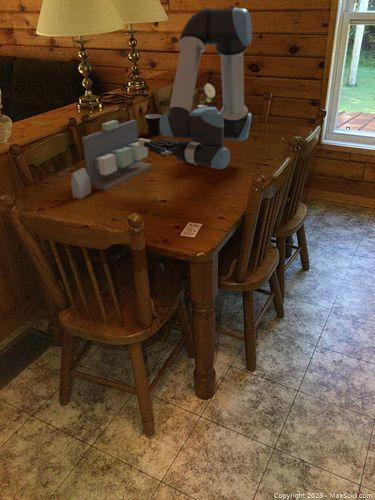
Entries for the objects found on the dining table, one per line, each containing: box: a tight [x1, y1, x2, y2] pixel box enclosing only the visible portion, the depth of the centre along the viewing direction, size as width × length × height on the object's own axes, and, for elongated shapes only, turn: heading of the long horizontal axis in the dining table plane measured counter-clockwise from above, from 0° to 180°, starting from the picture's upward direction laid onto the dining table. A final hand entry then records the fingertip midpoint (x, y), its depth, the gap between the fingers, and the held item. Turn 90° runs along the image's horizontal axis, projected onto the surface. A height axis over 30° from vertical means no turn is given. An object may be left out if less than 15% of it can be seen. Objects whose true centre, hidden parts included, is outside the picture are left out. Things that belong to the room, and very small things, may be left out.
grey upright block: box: [70, 167, 92, 200], centre depth 166 cm, size 4×7×10 cm, turn 153°
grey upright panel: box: [81, 119, 153, 191], centre depth 180 cm, size 16×30×22 cm, turn 145°
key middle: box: [111, 147, 133, 168], centre depth 180 cm, size 8×6×6 cm
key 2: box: [127, 141, 149, 161], centre depth 186 cm, size 8×6×6 cm
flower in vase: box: [197, 83, 216, 108], centre depth 232 cm, size 13×11×25 cm
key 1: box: [93, 154, 117, 175], centre depth 173 cm, size 8×6×6 cm
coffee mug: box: [144, 113, 162, 137], centre depth 233 cm, size 12×9×10 cm
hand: (139, 142), depth 169 cm, fingers closed
